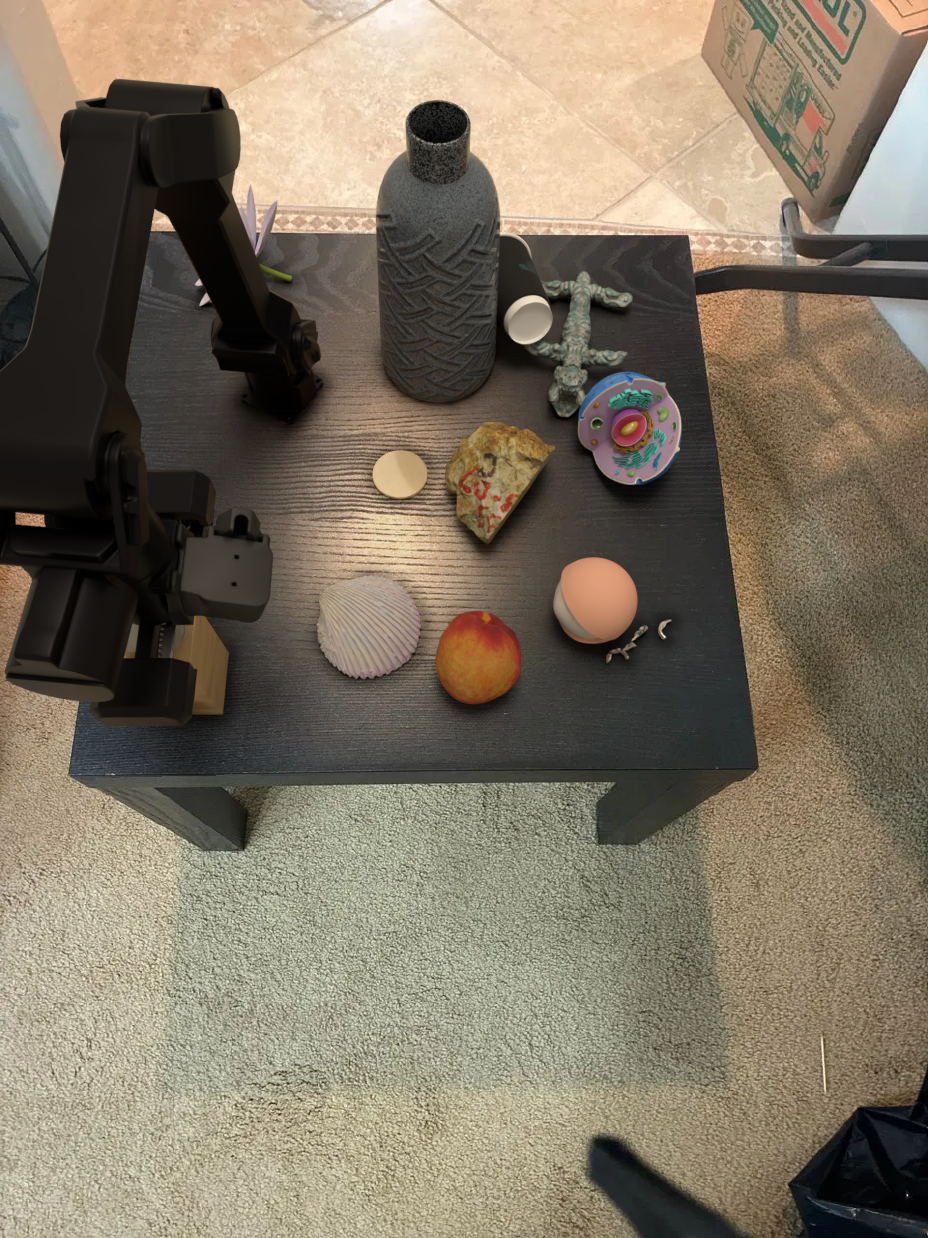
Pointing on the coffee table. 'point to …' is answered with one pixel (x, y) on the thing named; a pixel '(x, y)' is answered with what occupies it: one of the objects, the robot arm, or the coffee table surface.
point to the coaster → (399, 474)
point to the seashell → (367, 626)
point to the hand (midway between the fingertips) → (188, 635)
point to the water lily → (251, 231)
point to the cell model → (630, 427)
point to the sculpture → (577, 340)
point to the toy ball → (595, 600)
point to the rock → (494, 474)
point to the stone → (179, 638)
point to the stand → (204, 665)
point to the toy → (636, 635)
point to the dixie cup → (520, 293)
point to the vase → (438, 259)
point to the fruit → (478, 657)
